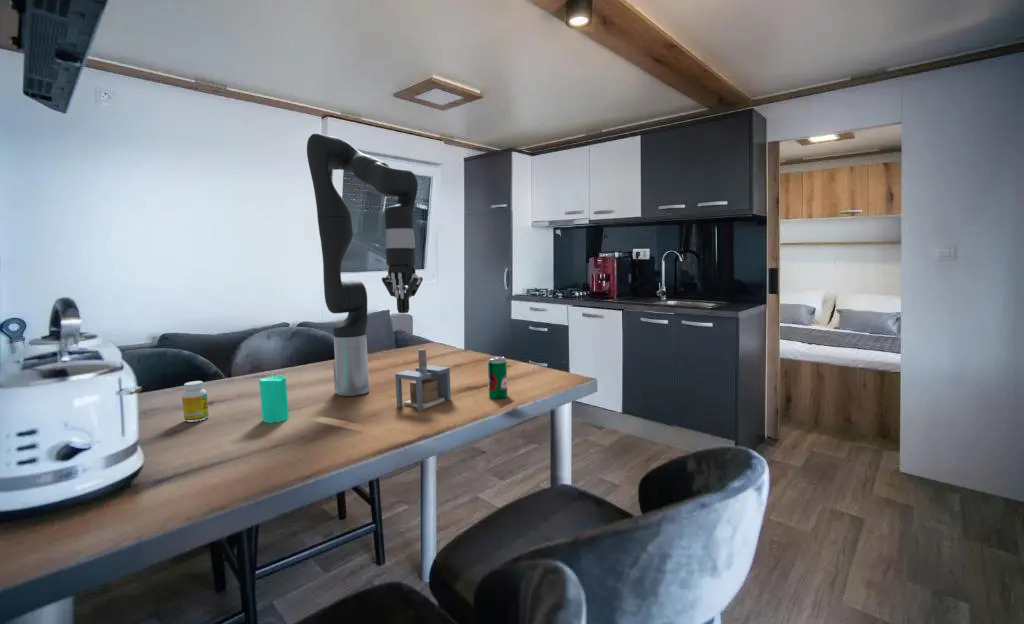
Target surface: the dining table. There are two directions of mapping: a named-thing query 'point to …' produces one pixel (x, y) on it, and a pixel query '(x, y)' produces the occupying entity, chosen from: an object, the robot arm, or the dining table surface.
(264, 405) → the candle
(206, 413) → the supplement bottle
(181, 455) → the dining table surface
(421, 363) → the stepped block tower
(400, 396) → the grey table frame
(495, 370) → the soda can
